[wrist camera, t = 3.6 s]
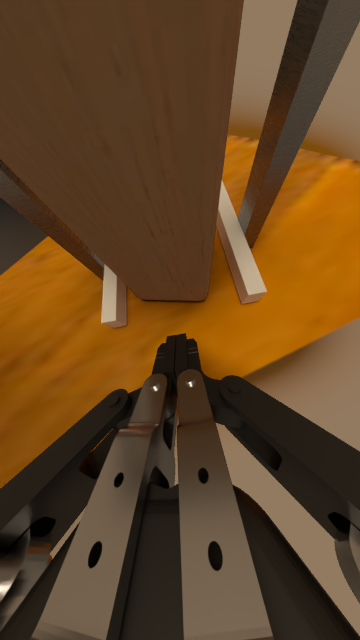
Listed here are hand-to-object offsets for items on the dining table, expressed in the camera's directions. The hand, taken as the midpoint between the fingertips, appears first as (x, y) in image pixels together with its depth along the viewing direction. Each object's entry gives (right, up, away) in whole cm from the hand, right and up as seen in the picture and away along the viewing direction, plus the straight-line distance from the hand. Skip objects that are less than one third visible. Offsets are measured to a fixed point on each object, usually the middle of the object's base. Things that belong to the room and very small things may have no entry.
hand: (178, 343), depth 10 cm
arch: (-1, +12, +10) cm, 16 cm away
